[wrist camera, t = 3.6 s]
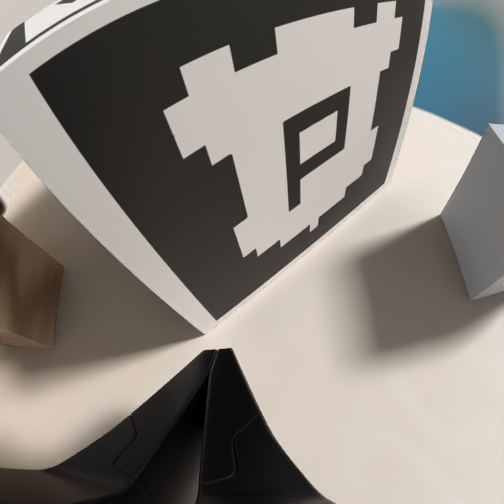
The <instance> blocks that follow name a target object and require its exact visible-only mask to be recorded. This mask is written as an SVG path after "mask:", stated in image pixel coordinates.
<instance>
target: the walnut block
mask: <svg viewBox="0 0 504 504" xmlns="http://www.w3.org/2000/svg"><path fill="white" fill-rule="evenodd" d="M63 268H64V266H62V265H61V264H60V263H58V262H57V261H56V260H54V259H53V258H52V257H51V256H49V255H48V254H47V253H45V252H44V251H43V250H42V249H40V248H39V247H38V246H37V245H35V244H34V243H33V242H32V241H31V240H29V239H28V238H27V237H26V236H25V235H23V234H22V233H21V232H20V231H19V230H17V229H16V228H15V227H14V226H13V225H12V224H11V223H9V222H8V221H7V220H6V219H5V218H4V217H3V216H1V215H0V344H2V345H6V346H18V347H33V348H51V349H53V346H54V334H55V323H56V315H57V307H58V299H59V292H60V286H61V280H62V274H63Z"/></svg>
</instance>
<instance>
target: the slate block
mask: <svg viewBox="0 0 504 504" xmlns="http://www.w3.org/2000/svg"><path fill="white" fill-rule="evenodd" d="M440 216H441V219H442V221H443V223H444V226H445V228H446V231H447V233H448V236H449V239H450V241H451V244H452V247H453V249H454V252H455V255H456V258H457V261H458V264H459V266H460V269H461V273H462V276H463V279H464V282H465V285H466V289H467V292H468V295H469V299H470V301H473V300H477V299H480V298H484V297H487V296H490V295H494V294H497V293H500V292H504V125H499V124H488V126H487V128H486V130H485V132H484V134H483V136H482V139H481V141H480V143H479V145H478V147H477V149H476V151H475V153H474V155H473V157H472V159H471V161H470V163H469V165H468V166H467V168H466V170H465V172H464V174H463V176H462V178H461V179H460V181H459V183H458V185H457V187H456V188H455V190H454V192H453V194H452V195H451V197H450V199H449V201H448V202H447V204H446V206H445V207H444V209H443V211H442V212H441V214H440Z"/></svg>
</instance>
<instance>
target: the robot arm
mask: <svg viewBox="0 0 504 504" xmlns="http://www.w3.org/2000/svg"><path fill="white" fill-rule="evenodd" d="M0 504H336V503H334V502H332V501H330V500H328V499H327V498H325V497H324V496H323V495H322V494H321V493H320V492H318V491H317V490H316V489H315V488H314V487H313V485H312V484H311V483H310V482H309V481H308V480H307V479H306V477H305V476H304V475H303V474H302V473H301V471H300V470H299V469H298V468H297V466H296V465H295V464H294V463H293V461H292V460H291V459H290V458H289V456H288V455H287V454H286V453H285V451H284V450H283V449H282V447H281V446H280V444H279V443H278V441H277V440H276V439H275V437H274V435H273V434H272V432H271V430H270V428H269V426H268V425H267V422H266V420H265V418H264V416H263V415H262V412H261V410H260V408H259V406H258V404H257V402H256V400H255V398H254V395H253V393H252V391H251V389H250V387H249V385H248V382H247V380H246V378H245V376H244V374H243V371H242V369H241V367H240V365H239V363H238V360H237V358H236V356H235V354H234V351H233V349H232V348H226V349H219V350H216V349H214V350H204V351H202V352H201V353H200V354H199V355H198V356H197V357H196V358H195V359H193V360H192V361H191V362H190V363H189V364H188V365H187V366H186V367H184V368H183V369H182V370H181V371H180V372H179V373H178V374H177V375H175V376H174V377H173V378H172V379H171V380H170V381H169V382H167V383H166V384H165V385H164V386H163V387H162V388H161V389H159V390H158V391H157V392H156V393H155V394H154V395H153V396H151V397H150V398H149V399H148V400H147V401H146V402H144V403H143V404H142V405H141V406H140V407H139V408H137V409H136V410H135V411H134V412H133V413H132V414H131V415H129V416H128V417H127V418H125V419H124V420H123V421H122V422H121V423H119V424H118V425H117V426H116V427H114V428H113V429H112V430H111V431H109V432H108V433H107V434H105V435H104V436H102V437H101V438H99V439H98V440H97V441H95V442H94V443H92V444H91V445H89V446H88V447H86V448H84V449H83V450H81V451H80V452H78V453H77V454H75V455H74V456H72V457H70V458H69V459H67V460H66V461H64V462H62V463H61V464H59V465H57V466H54V467H52V468H48V469H42V470H24V469H8V468H0Z"/></svg>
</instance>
